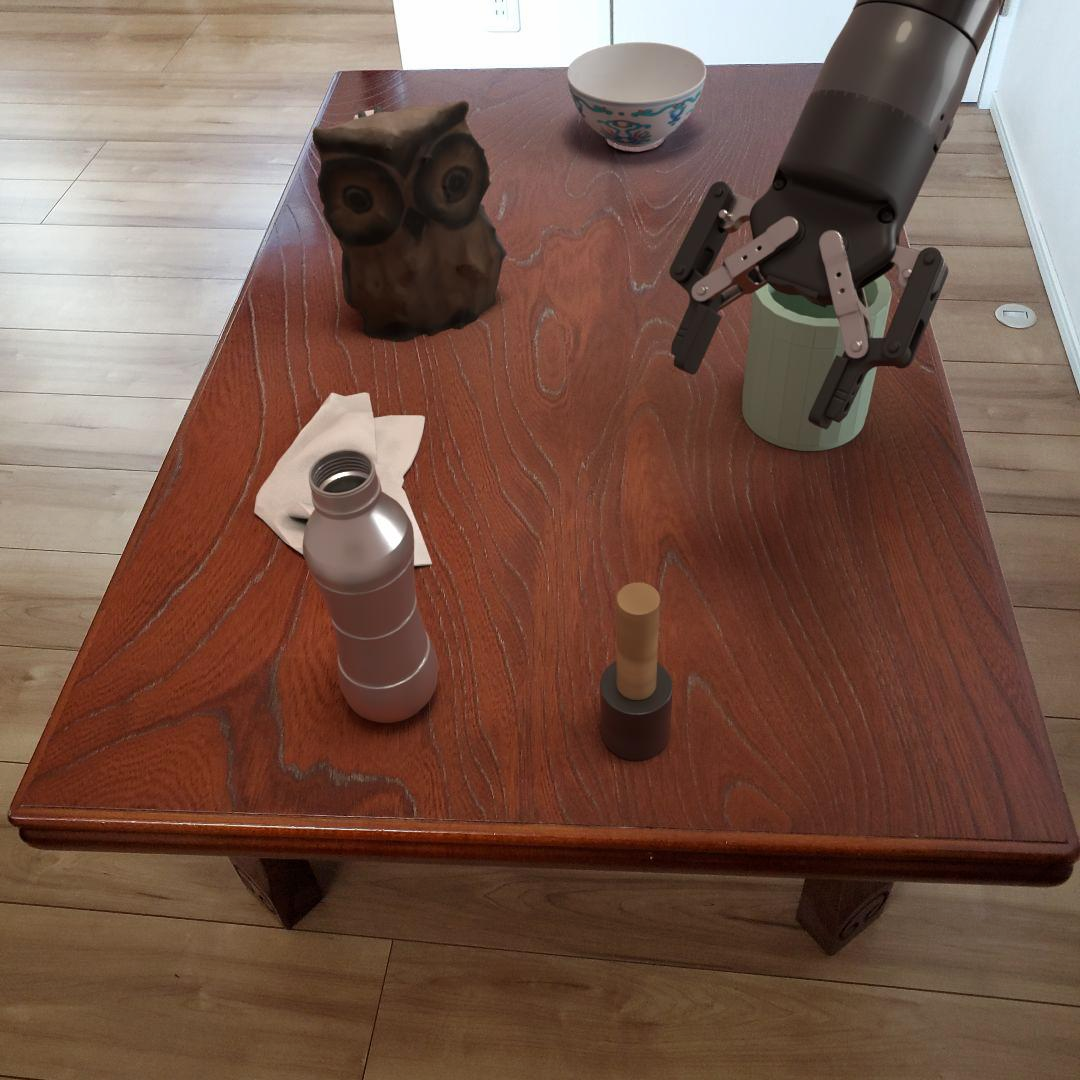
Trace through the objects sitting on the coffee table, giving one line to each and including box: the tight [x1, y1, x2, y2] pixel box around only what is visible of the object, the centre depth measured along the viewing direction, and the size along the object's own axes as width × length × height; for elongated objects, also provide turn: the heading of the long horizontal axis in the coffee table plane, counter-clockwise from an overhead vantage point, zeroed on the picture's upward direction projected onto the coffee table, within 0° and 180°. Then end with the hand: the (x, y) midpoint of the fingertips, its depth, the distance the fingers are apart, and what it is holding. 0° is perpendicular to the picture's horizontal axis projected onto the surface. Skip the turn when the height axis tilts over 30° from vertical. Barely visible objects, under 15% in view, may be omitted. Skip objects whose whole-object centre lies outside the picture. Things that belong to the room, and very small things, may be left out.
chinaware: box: [566, 41, 707, 147], centre depth 123 cm, size 15×15×8 cm
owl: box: [312, 100, 508, 342], centre depth 98 cm, size 13×13×20 cm
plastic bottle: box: [302, 449, 439, 724], centre depth 67 cm, size 6×7×20 cm
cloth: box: [253, 392, 433, 567], centre depth 87 cm, size 26×14×2 cm, turn 4°
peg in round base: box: [599, 581, 674, 762], centre depth 67 cm, size 4×4×13 cm
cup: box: [741, 274, 893, 452], centre depth 88 cm, size 10×10×12 cm
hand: (748, 397), depth 62 cm, fingers open, 8 cm apart
